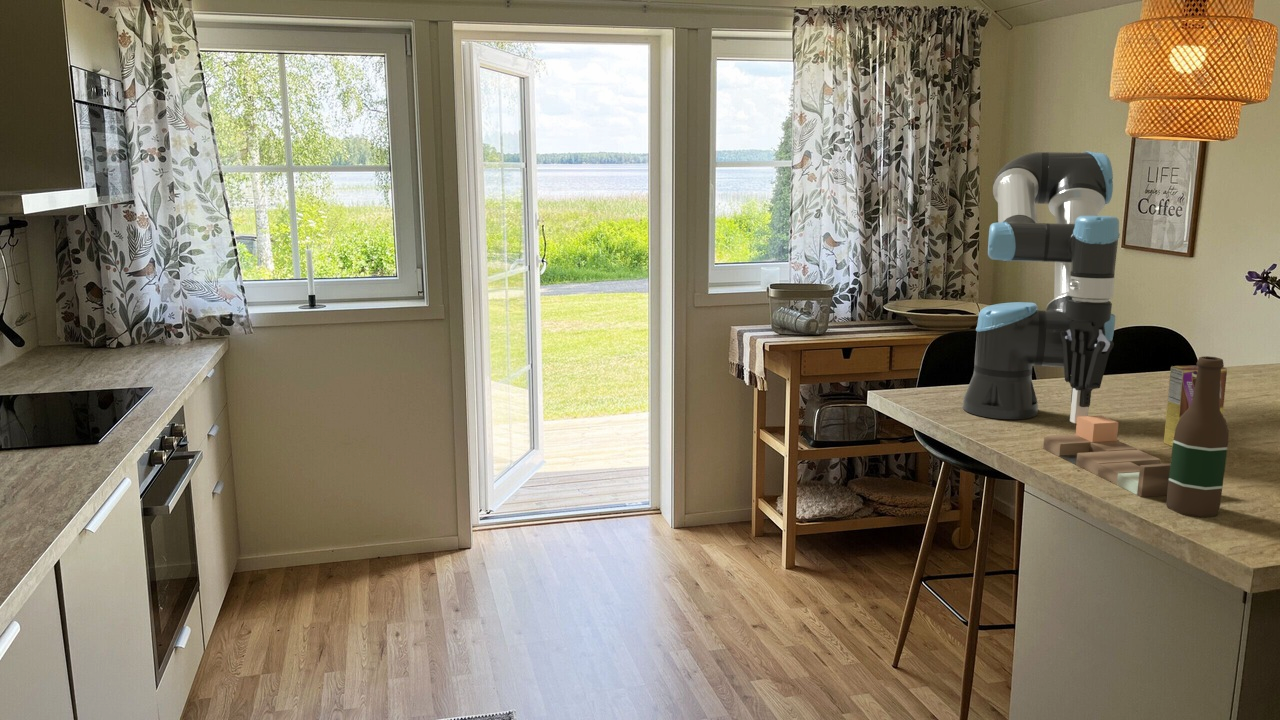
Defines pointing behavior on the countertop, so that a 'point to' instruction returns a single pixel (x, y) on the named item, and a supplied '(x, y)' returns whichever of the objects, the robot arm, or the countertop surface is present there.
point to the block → (1097, 428)
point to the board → (1114, 463)
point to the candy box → (1184, 396)
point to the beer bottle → (1200, 447)
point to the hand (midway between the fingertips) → (1078, 421)
